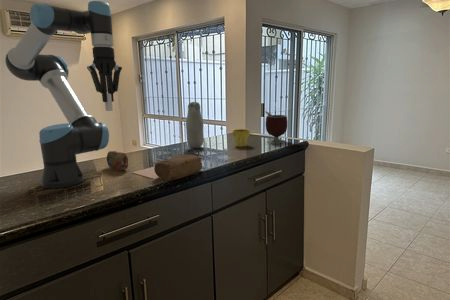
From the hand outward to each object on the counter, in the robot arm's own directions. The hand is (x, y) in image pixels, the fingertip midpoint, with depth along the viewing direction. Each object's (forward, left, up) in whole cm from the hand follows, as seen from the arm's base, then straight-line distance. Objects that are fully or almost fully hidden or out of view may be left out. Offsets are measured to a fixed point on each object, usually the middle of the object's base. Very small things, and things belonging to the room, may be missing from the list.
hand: (109, 110), depth 118 cm
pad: (+20, -4, -29) cm, 35 cm away
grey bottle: (+65, +21, -29) cm, 74 cm away
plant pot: (+86, +2, -29) cm, 91 cm away
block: (+11, -16, -25) cm, 31 cm away
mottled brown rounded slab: (+10, +16, -29) cm, 35 cm away
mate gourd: (+108, -9, -29) cm, 112 cm away
